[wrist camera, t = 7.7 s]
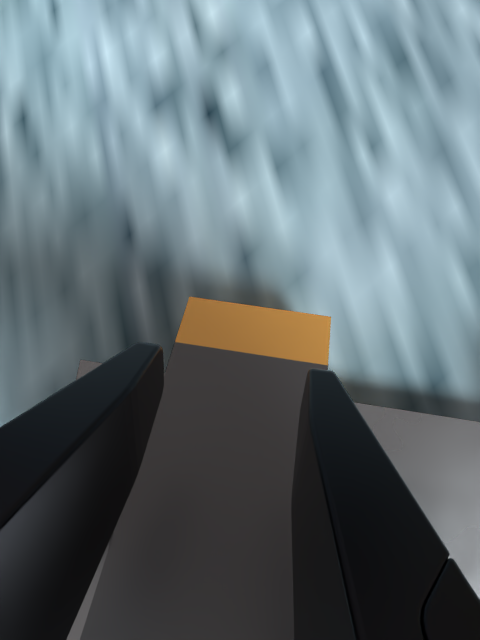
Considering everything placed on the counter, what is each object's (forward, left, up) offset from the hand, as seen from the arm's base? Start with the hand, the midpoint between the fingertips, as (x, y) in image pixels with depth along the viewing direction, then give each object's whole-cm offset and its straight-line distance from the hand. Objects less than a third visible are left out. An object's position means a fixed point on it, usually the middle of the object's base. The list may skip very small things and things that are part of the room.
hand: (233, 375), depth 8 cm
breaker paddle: (-7, 0, -1) cm, 7 cm away
